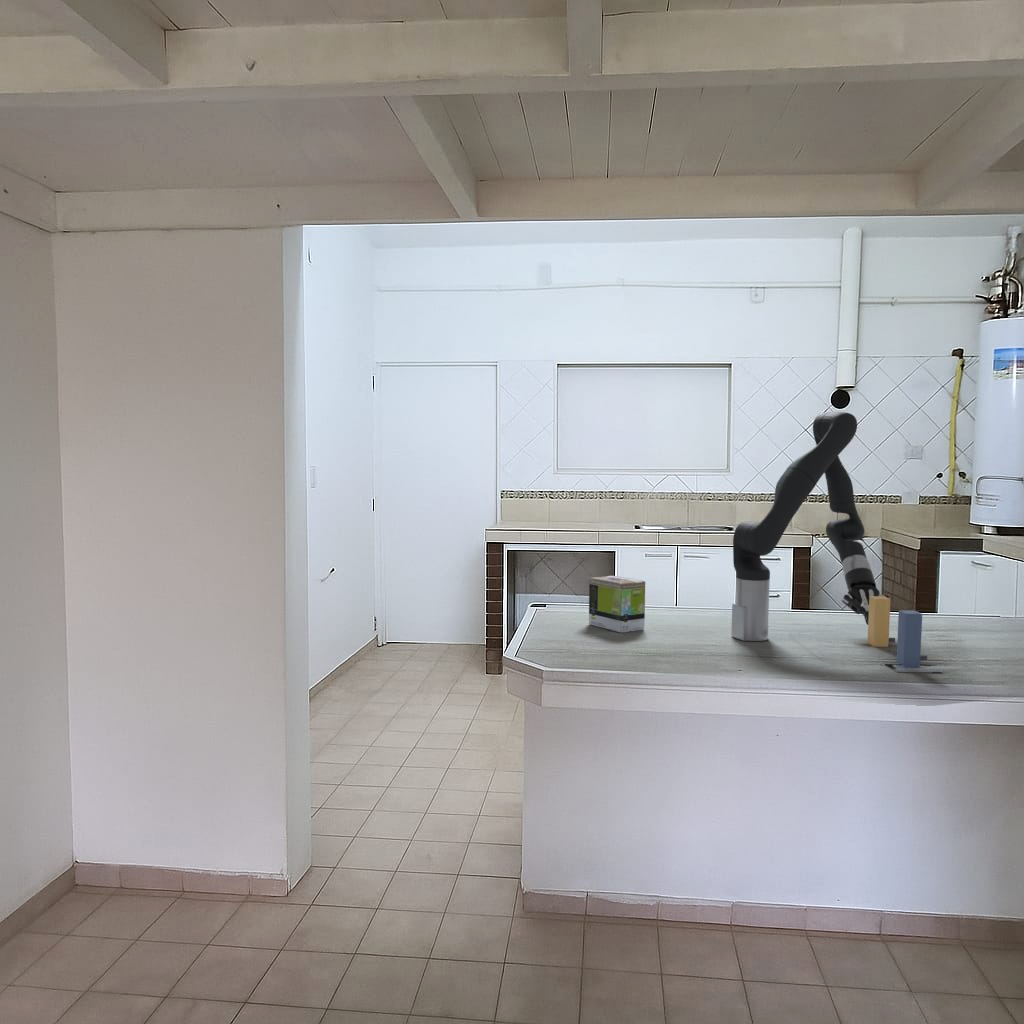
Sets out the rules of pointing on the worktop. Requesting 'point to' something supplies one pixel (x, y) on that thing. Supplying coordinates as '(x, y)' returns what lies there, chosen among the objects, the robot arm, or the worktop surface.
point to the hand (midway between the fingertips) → (873, 625)
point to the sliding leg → (879, 621)
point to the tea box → (617, 603)
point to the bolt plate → (914, 668)
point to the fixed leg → (909, 638)
